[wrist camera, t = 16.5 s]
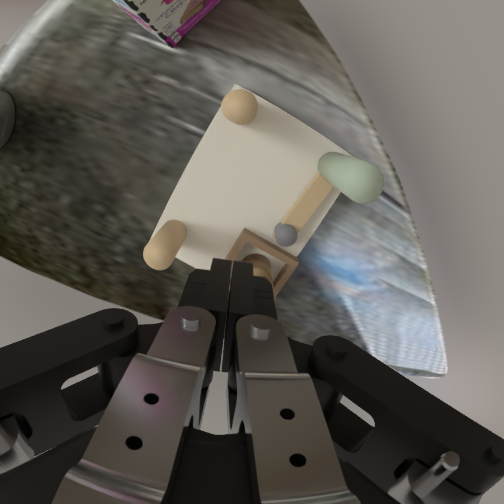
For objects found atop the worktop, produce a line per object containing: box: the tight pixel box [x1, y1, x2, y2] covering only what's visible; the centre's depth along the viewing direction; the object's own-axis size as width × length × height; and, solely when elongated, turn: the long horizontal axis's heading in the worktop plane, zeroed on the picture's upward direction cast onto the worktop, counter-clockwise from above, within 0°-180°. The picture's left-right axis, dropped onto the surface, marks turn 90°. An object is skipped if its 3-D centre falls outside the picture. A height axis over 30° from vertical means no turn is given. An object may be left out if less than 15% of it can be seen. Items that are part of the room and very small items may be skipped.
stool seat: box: [143, 84, 353, 297], centre depth 32 cm, size 16×21×9 cm
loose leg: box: [242, 253, 275, 301], centre depth 33 cm, size 4×4×8 cm
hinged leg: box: [273, 152, 384, 247], centre depth 29 cm, size 12×3×10 cm, turn 146°
